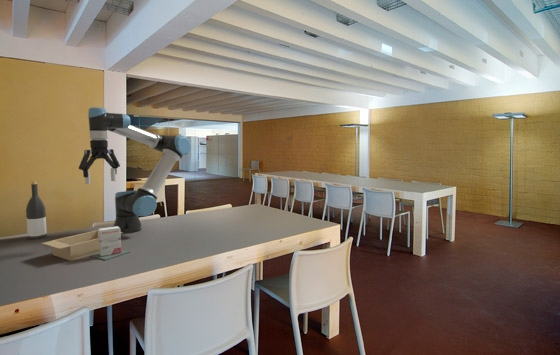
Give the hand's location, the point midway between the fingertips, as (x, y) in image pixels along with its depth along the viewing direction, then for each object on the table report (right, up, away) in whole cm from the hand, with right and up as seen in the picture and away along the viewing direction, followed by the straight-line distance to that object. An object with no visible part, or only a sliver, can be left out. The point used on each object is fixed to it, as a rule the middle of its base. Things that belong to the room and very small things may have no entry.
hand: (101, 182), depth 160 cm
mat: (+12, -33, -14) cm, 37 cm away
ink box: (+12, -32, -14) cm, 37 cm away
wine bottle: (-40, -30, +11) cm, 51 cm away
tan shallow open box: (-2, -32, -10) cm, 33 cm away
